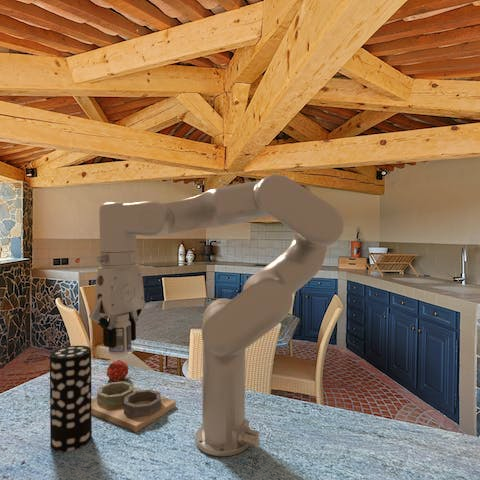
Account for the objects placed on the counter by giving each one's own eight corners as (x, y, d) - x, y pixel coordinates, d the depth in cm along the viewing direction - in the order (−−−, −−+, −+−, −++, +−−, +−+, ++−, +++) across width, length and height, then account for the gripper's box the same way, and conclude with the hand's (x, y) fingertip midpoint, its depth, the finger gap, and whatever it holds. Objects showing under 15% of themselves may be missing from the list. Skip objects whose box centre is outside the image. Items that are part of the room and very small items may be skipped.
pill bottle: (123, 346, 82) (123, 309, 82) (135, 350, 79) (135, 312, 79) (104, 351, 78) (103, 313, 78) (116, 356, 75) (115, 316, 75)
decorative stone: (119, 381, 116) (136, 376, 113) (102, 386, 111) (119, 380, 107) (115, 361, 118) (132, 355, 115) (98, 365, 112) (116, 359, 109)
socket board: (175, 406, 96) (175, 391, 96) (136, 432, 84) (136, 415, 84) (123, 389, 106) (123, 375, 106) (81, 409, 94) (80, 394, 94)
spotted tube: (52, 434, 82) (51, 348, 82) (91, 426, 86) (90, 343, 85) (48, 455, 75) (47, 360, 74) (91, 446, 78) (91, 355, 77)
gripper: (96, 264, 69) (98, 358, 69) (159, 257, 83) (160, 335, 84) (72, 262, 73) (74, 351, 73) (135, 256, 87) (137, 330, 88)
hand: (120, 342), depth 79 cm, fingers closed on pill bottle, 4 cm apart
